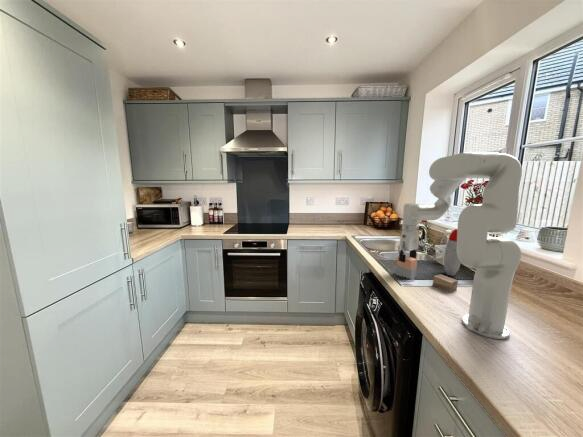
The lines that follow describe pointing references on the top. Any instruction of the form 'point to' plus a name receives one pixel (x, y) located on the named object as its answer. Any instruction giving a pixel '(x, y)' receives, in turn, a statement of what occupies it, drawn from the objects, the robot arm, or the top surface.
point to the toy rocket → (451, 255)
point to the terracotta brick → (408, 263)
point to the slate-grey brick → (405, 272)
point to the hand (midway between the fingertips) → (407, 259)
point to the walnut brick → (445, 283)
